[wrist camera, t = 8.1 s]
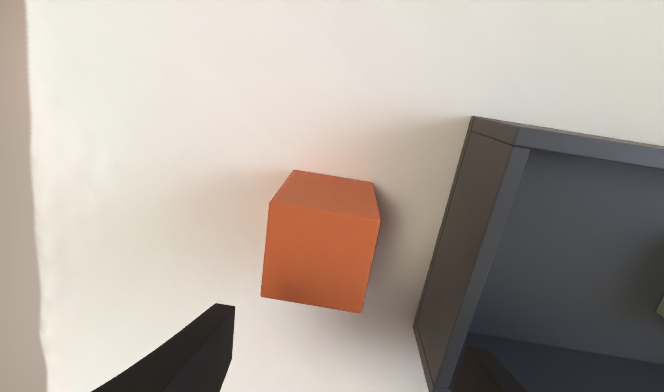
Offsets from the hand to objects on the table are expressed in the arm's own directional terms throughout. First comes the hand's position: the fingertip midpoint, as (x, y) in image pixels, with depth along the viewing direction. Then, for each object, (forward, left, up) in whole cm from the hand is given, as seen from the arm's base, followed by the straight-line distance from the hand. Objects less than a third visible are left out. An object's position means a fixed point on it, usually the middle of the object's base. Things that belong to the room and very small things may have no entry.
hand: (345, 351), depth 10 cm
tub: (+1, -15, -9) cm, 18 cm away
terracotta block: (+1, +1, -9) cm, 9 cm away
